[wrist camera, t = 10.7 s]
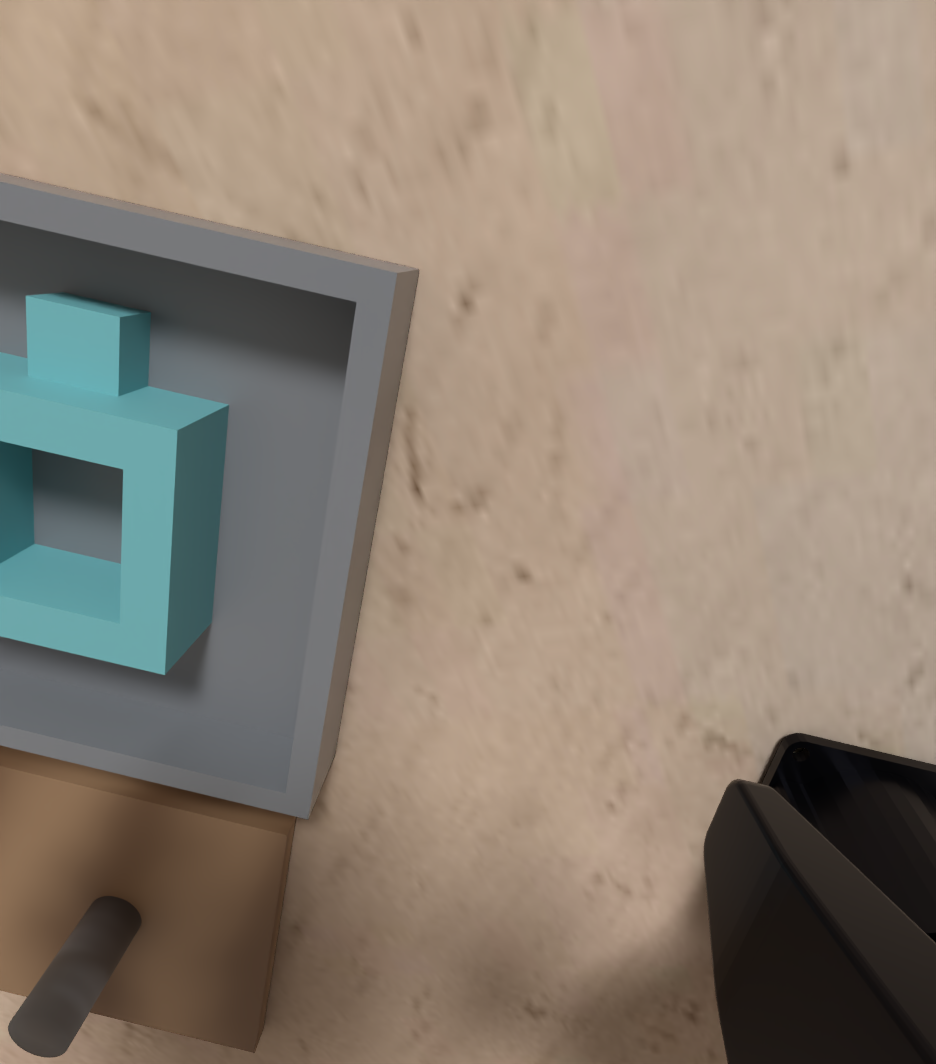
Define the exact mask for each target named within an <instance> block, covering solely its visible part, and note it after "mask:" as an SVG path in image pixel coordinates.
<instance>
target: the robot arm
mask: <svg viewBox="0 0 936 1064" xmlns="http://www.w3.org/2000/svg"><path fill="white" fill-rule="evenodd" d="M798 748H805V749H804V750H803V751H802V752H799V753H793V752H794V751H795V750H796V749H798ZM704 865H705V878H706V890H707V902H708V914H709V926H710V939H711V951H712V963H713V974H714V983H715V993H716V1000H717V1006H718V1012H719V1018H720V1024H721V1029H722V1034H723V1040H724V1045H725V1050H726V1056H727V1061H728V1064H936V765H933V764H929V763H925V762H921V761H916V760H912V759H908V758H904V757H900V756H895V755H891V754H887V753H883V752H878V751H874V750H870V749H866V748H862V747H857V746H853V745H849V744H845V743H841V742H836V741H832V740H828V739H824V738H819V737H815V736H811V735H807V734H802V733H795V734H791V735H789V736H787V737H785V738H784V739H783V741H782V742H781V744H780V746H779V748H778V750H777V752H776V754H775V757H774V759H773V761H772V763H771V765H770V767H769V769H768V771H767V774H766V776H765V778H764V780H763V782H762V784H758V783H754V782H750V781H746V780H741V779H737V780H734V781H732V782H731V783H730V784H729V785H728V786H727V788H726V790H725V792H724V795H723V797H722V799H721V801H720V804H719V806H718V808H717V811H716V813H715V815H714V817H713V820H712V822H711V824H710V827H709V829H708V831H707V834H706V838H705V843H704Z"/></svg>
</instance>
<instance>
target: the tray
mask: <svg viewBox="0 0 936 1064" xmlns="http://www.w3.org/2000/svg"><path fill="white" fill-rule="evenodd" d="M418 274H419V269H416V268H412V267H407V266H403V265H398V264H394V263H390V262H385V261H381V260H377V259H372V258H368V257H364V256H359V255H355V254H351V253H346V252H342V251H338V250H333V249H329V248H325V247H320V246H316V245H312V244H307V243H303V242H298V241H294V240H290V239H285V238H281V237H277V236H272V235H268V234H264V233H259V232H255V231H251V230H246V229H242V228H238V227H233V226H229V225H225V224H220V223H216V222H212V221H207V220H203V219H198V218H194V217H190V216H185V215H181V214H177V213H172V212H168V211H164V210H159V209H155V208H151V207H146V206H142V205H138V204H133V203H129V202H125V201H120V200H116V199H112V198H107V197H103V196H98V195H94V194H90V193H85V192H81V191H77V190H72V189H68V188H64V187H59V186H55V185H51V184H46V183H42V182H38V181H33V180H29V179H25V178H20V177H16V176H12V175H7V174H3V173H0V352H2V353H6V354H11V355H15V356H19V357H24V358H27V324H26V296H28V295H39V294H50V293H61V292H65V293H69V294H73V295H78V296H82V297H86V298H91V299H95V300H100V301H104V302H108V303H113V304H117V305H121V306H126V307H130V308H135V309H139V310H143V311H148V312H151V323H150V351H149V380H148V386H150V387H154V388H159V389H163V390H167V391H172V392H176V393H180V394H185V395H189V396H193V397H198V398H202V399H206V400H211V401H215V402H220V403H224V404H228V405H229V413H228V425H227V438H226V450H225V463H224V476H223V488H222V501H221V513H220V526H219V539H218V551H217V564H216V576H215V589H214V602H213V614H212V623H211V624H210V625H209V626H208V627H207V628H206V629H205V630H204V632H203V633H202V634H201V635H200V636H199V637H198V638H197V639H196V641H195V642H194V643H193V644H192V645H191V646H190V647H189V648H188V650H187V651H186V652H185V653H184V654H183V655H182V656H181V657H180V659H179V660H178V661H177V662H176V663H175V664H174V665H173V666H172V668H171V669H170V670H169V671H168V672H167V673H166V674H165V675H162V674H158V673H154V672H149V671H145V670H141V669H137V668H132V667H128V666H124V665H120V664H115V663H111V662H107V661H103V660H99V659H94V658H90V657H86V656H82V655H77V654H73V653H69V652H65V651H60V650H56V649H52V648H48V647H43V646H39V645H35V644H31V643H27V642H22V641H18V640H14V639H10V638H5V637H1V636H0V745H1V746H5V747H9V748H13V749H17V750H22V751H26V752H30V753H34V754H38V755H42V756H46V757H51V758H55V759H59V760H63V761H67V762H71V763H75V764H80V765H84V766H88V767H92V768H96V769H100V770H104V771H109V772H113V773H117V774H121V775H125V776H129V777H133V778H138V779H142V780H146V781H150V782H154V783H158V784H162V785H167V786H171V787H175V788H179V789H183V790H187V791H192V792H196V793H200V794H204V795H208V796H212V797H216V798H221V799H225V800H229V801H233V802H237V803H241V804H245V805H250V806H254V807H258V808H262V809H266V810H270V811H274V812H279V813H283V814H287V815H291V816H295V817H299V818H303V819H309V817H310V814H311V812H312V809H313V807H314V805H315V802H316V800H317V797H318V795H319V792H320V790H321V788H322V785H323V783H324V780H325V778H326V776H327V773H328V771H329V768H330V766H331V763H332V761H333V759H334V756H335V752H336V746H337V740H338V735H339V729H340V723H341V717H342V712H343V706H344V700H345V694H346V689H347V683H348V677H349V671H350V666H351V660H352V654H353V648H354V643H355V637H356V631H357V625H358V620H359V614H360V608H361V602H362V597H363V591H364V585H365V579H366V574H367V568H368V562H369V556H370V551H371V545H372V539H373V533H374V528H375V522H376V516H377V510H378V505H379V499H380V493H381V487H382V481H383V476H384V470H385V464H386V458H387V453H388V447H389V441H390V435H391V430H392V424H393V418H394V412H395V407H396V401H397V395H398V389H399V384H400V378H401V372H402V366H403V361H404V355H405V349H406V343H407V338H408V332H409V326H410V320H411V315H412V309H413V303H414V297H415V292H416V286H417V280H418ZM32 471H33V506H34V541H35V544H38V545H42V546H47V547H51V548H55V549H59V550H64V551H68V552H72V553H77V554H81V555H85V556H89V557H94V558H98V559H102V560H107V561H111V562H115V563H119V564H121V545H122V500H123V469H119V468H115V467H111V466H106V465H102V464H98V463H93V462H89V461H85V460H80V459H76V458H72V457H67V456H63V455H59V454H55V453H50V452H46V451H42V450H37V449H33V448H32Z"/></svg>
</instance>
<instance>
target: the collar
mask: <svg viewBox="0 0 936 1064" xmlns="http://www.w3.org/2000/svg"><path fill="white" fill-rule="evenodd" d="M150 323H151V312H148V311H143V310H139V309H135V308H130V307H126V306H121V305H117V304H113V303H108V302H104V301H100V300H95V299H91V298H86V297H82V296H78V295H73V294H69V293H65V292H61V293H50V294H39V295H28V296H26V324H27V358H24V357H19V356H15V355H11V354H6V353H2V352H0V636H1V637H5V638H10V639H14V640H18V641H22V642H27V643H31V644H35V645H39V646H43V647H48V648H52V649H56V650H60V651H65V652H69V653H73V654H77V655H82V656H86V657H90V658H94V659H99V660H103V661H107V662H111V663H115V664H120V665H124V666H128V667H132V668H137V669H141V670H145V671H149V672H154V673H158V674H162V675H165V674H166V673H167V672H168V671H169V670H170V669H171V668H172V666H173V665H174V664H175V663H176V662H177V661H178V660H179V659H180V657H181V656H182V655H183V654H184V653H185V652H186V651H187V650H188V648H189V647H190V646H191V645H192V644H193V643H194V642H195V641H196V639H197V638H198V637H199V636H200V635H201V634H202V633H203V632H204V630H205V629H206V628H207V627H208V626H209V625H210V624H211V623H212V614H213V602H214V589H215V576H216V564H217V551H218V539H219V526H220V513H221V501H222V488H223V476H224V463H225V450H226V438H227V425H228V413H229V405H228V404H224V403H220V402H215V401H211V400H206V399H202V398H198V397H193V396H189V395H185V394H180V393H176V392H172V391H167V390H163V389H159V388H154V387H150V386H148V380H149V351H150ZM32 448H33V449H37V450H42V451H46V452H50V453H55V454H59V455H63V456H67V457H72V458H76V459H80V460H85V461H89V462H93V463H98V464H102V465H106V466H111V467H115V468H119V469H123V500H122V545H121V564H119V563H115V562H111V561H107V560H102V559H98V558H94V557H89V556H85V555H81V554H77V553H72V552H68V551H64V550H59V549H55V548H51V547H47V546H42V545H38V544H35V541H34V506H33V471H32Z"/></svg>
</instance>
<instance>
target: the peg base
mask: <svg viewBox="0 0 936 1064" xmlns="http://www.w3.org/2000/svg"><path fill="white" fill-rule="evenodd" d="M295 821H296V817H295V816H291V815H287V814H283V813H279V812H274V811H270V810H266V809H262V808H258V807H254V806H250V805H245V804H241V803H237V802H233V801H229V800H225V799H221V798H216V797H212V796H208V795H204V794H200V793H196V792H192V791H187V790H183V789H179V788H175V787H171V786H167V785H162V784H158V783H154V782H150V781H146V780H142V779H138V778H133V777H129V776H125V775H121V774H117V773H113V772H109V771H104V770H100V769H96V768H92V767H88V766H84V765H80V764H75V763H71V762H67V761H63V760H59V759H55V758H51V757H46V756H42V755H38V754H34V753H30V752H26V751H22V750H17V749H13V748H9V747H5V746H1V745H0V990H1V991H5V992H9V993H13V994H17V995H22V996H26V997H27V998H26V1000H25V1001H24V1003H23V1004H22V1006H21V1007H20V1008H19V1010H18V1011H17V1013H16V1014H15V1016H14V1017H13V1019H12V1020H11V1021H10V1023H9V1026H8V1031H9V1034H10V1036H11V1038H12V1040H13V1041H14V1042H15V1043H16V1044H17V1045H18V1046H19V1047H21V1048H22V1049H24V1050H25V1051H27V1052H29V1053H31V1054H34V1055H37V1056H41V1057H57V1056H60V1055H62V1054H64V1053H65V1052H66V1050H67V1049H68V1047H69V1045H70V1044H71V1042H72V1040H73V1039H74V1037H75V1035H76V1034H77V1032H78V1030H79V1029H80V1027H81V1025H82V1024H83V1022H84V1020H85V1019H86V1017H87V1015H88V1014H89V1012H91V1013H95V1014H99V1015H103V1016H107V1017H111V1018H115V1019H119V1020H123V1021H127V1022H131V1023H135V1024H139V1025H143V1026H148V1027H152V1028H156V1029H160V1030H164V1031H168V1032H172V1033H176V1034H180V1035H184V1036H188V1037H192V1038H196V1039H200V1040H204V1041H209V1042H213V1043H217V1044H221V1045H225V1046H229V1047H233V1048H237V1049H241V1050H245V1051H249V1052H253V1053H255V1050H256V1048H257V1045H258V1042H259V1039H260V1037H261V1034H262V1031H263V1028H264V1022H265V1015H266V1009H267V1002H268V996H269V989H270V983H271V976H272V970H273V963H274V957H275V950H276V944H277V937H278V931H279V924H280V918H281V911H282V905H283V898H284V892H285V885H286V879H287V872H288V866H289V859H290V853H291V847H292V840H293V834H294V827H295Z"/></svg>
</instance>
